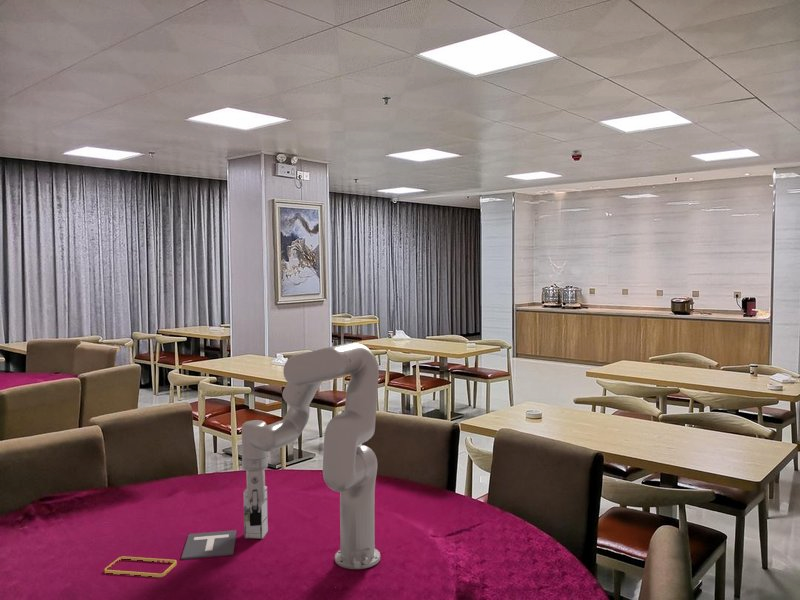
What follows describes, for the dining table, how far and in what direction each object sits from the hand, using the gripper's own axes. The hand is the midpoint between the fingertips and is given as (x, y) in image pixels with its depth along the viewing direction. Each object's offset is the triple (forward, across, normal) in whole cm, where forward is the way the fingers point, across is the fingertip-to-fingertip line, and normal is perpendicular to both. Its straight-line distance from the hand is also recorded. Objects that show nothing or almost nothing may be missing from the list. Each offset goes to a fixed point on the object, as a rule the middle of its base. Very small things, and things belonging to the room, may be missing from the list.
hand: (255, 519), depth 191 cm
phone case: (+6, -15, +30) cm, 34 cm away
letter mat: (+5, -4, +13) cm, 14 cm away
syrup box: (+5, 0, 0) cm, 5 cm away
